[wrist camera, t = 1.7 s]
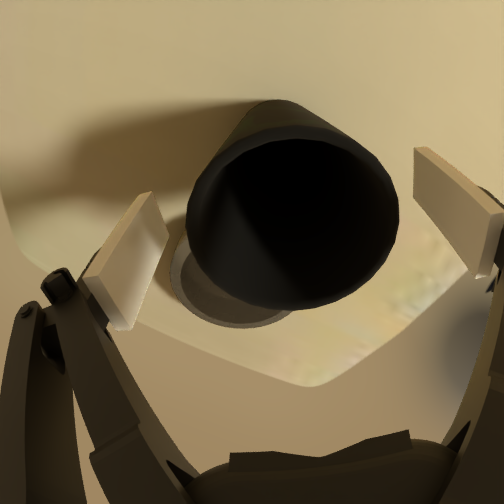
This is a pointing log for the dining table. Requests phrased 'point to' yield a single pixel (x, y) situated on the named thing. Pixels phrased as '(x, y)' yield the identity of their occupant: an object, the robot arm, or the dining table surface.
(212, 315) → the grey metal bowl
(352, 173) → the cup
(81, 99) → the dining table surface
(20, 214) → the dining table surface
